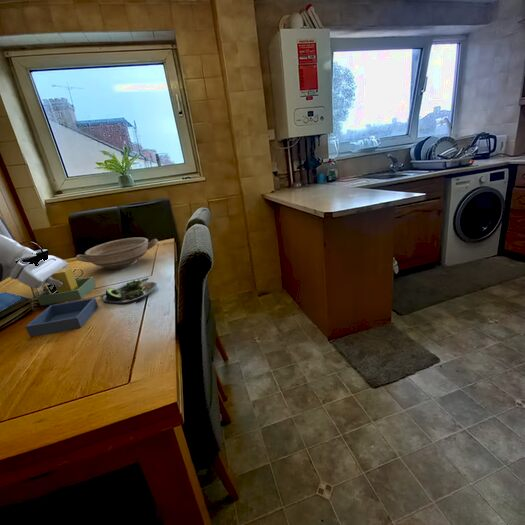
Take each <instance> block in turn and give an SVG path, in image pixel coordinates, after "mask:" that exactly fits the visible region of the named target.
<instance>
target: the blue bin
mask: <svg viewBox="0 0 525 525" xmlns="http://www.w3.org/2000/svg"><path fill="white" fill-rule="evenodd" d="M98 308H99V305H98V301H97V300H96V297H91V298H84V299H78V300H72V301H66V302H61V303H55V304H49V306H48V307H47V308H46V309H44V310H42V312H41V313H40V314H38V315H37V316H36V317H35V318H34V319H32V320H31V321H29V323H28V324H26V326H25V330H26V331H27V334H28V336H29V337H30V338H33V337H39V336H44V335H50V334H54V333H61V332H65V331H71V330H77V329H82V328H83V326H84V325H85V324H86V323H87V322H88V320H89V319H90V318H91V317H92V316H93V314H94V313H95V312H96V311H97V310H98Z"/></svg>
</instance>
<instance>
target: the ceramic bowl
mask: <svg viewBox="0 0 525 525" xmlns="http://www.w3.org/2000/svg"><path fill="white" fill-rule="evenodd" d="M157 244H158V239H157V238H153V239H151V240H150V241H149V239H148V238H146V237H141V236H139V237H136V236H135V237H127V238H120V239H115V240H110V241H108V242H104V243H101V244H97V245H95V246H93V247H91V248H89V249H87V250H86V251H85V252H84V254H77V255H76V256H75V259H76V260H77V261H79V262H83V263H91V264H92V265H95V266H97V267H104V268H105V267H107V268H109V269H110V268H111V270H119V269H123V268H128V267H130V266H132V265H134V264H136V263H137V262H138V260H139V259H140V258H142V257H143V256H144V255H146V254H147V252H148V251H149V250H151V249H152V248H154V247H155V246H156V245H157ZM118 268H119V269H118Z"/></svg>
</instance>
